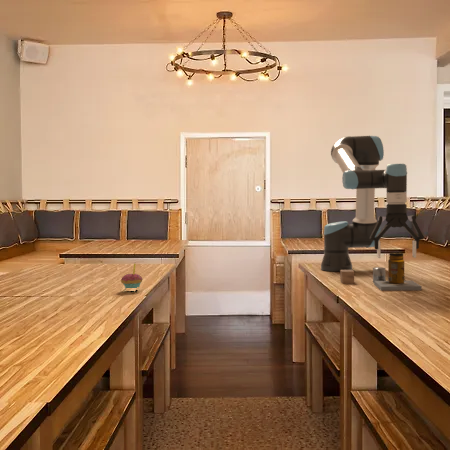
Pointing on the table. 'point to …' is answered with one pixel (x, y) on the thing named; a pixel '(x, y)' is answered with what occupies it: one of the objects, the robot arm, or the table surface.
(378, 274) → the metal canister
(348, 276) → the walnut block
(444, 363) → the table surface
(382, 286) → the board
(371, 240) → the robot arm
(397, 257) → the condiment
